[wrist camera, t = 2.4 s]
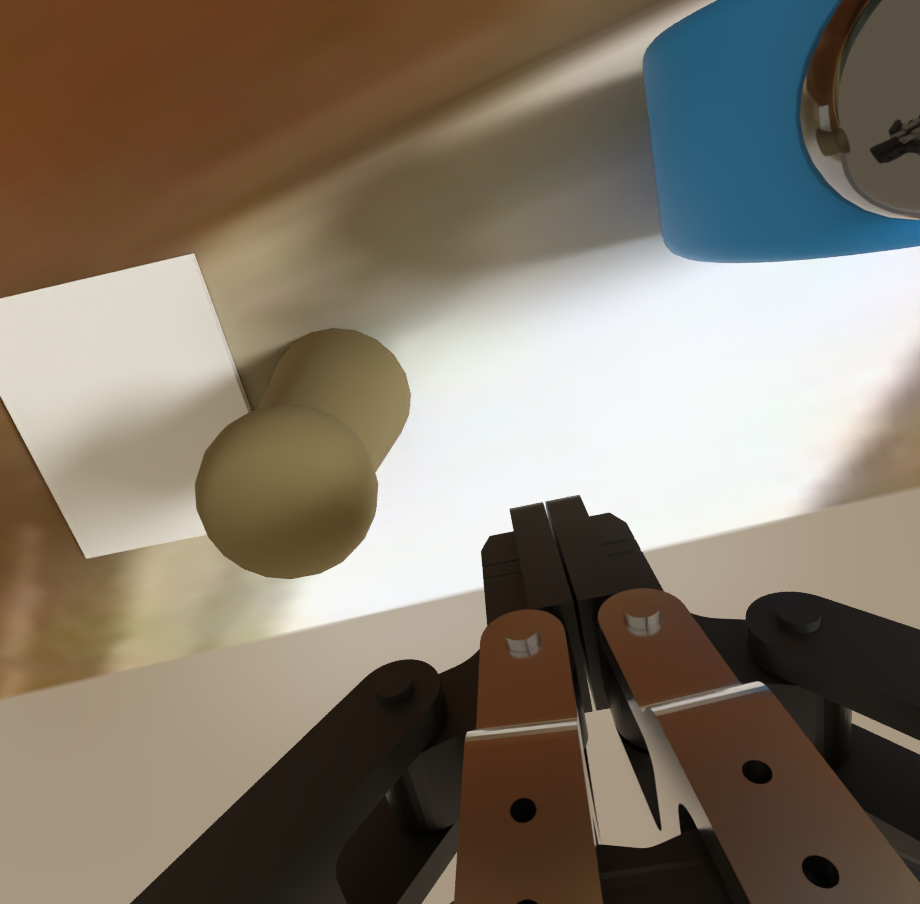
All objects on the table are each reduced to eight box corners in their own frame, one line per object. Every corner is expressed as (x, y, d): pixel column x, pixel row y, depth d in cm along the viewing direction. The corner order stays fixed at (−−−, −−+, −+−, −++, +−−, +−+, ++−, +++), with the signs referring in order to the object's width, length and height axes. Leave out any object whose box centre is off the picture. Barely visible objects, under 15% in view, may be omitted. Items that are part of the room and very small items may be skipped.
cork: (283, 464, 28) (187, 617, 18) (260, 332, 26) (134, 421, 15) (415, 457, 28) (395, 607, 18) (404, 324, 26) (373, 408, 15)
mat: (-39, 307, 25) (-46, 309, 25) (194, 253, 24) (189, 254, 24) (90, 554, 30) (86, 558, 29) (289, 514, 29) (287, 518, 28)
